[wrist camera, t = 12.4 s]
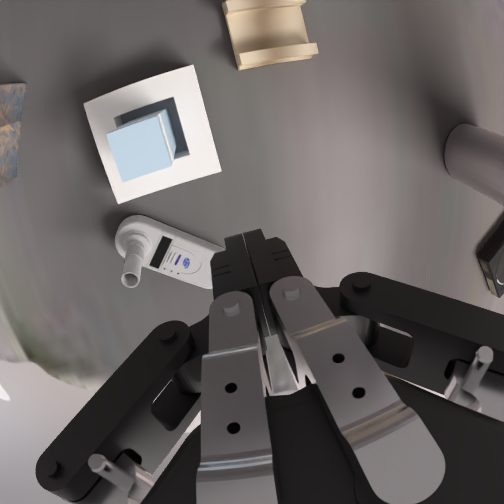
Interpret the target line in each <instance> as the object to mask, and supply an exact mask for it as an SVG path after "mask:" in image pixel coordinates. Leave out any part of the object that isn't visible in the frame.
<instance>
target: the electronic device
mask: <svg viewBox="0 0 504 504" xmlns="http://www.w3.org/2000/svg"><path fill="white" fill-rule="evenodd" d="M115 246H116V249H117V251H118V253H119V254H120V255H121V256H122V257H123V258H125V259H124V268H123V273H122V278H121V281H122V283H123V284H124V285H125V286H126V287H130V288H133V287H136V286H137V285H138V283H139V281H140V273H141V267H142V266H143V267H146V268H149V269H152V270H154V271H157V272H160V273H163V274H165V275H168V276H171V277H174V278H177V279H179V280H182V281H185V282H188V283H191V284H194V285H196V286H199V287H202V288H205V289H213V287H212V276H211V267H210V260H211V259H212V257H213V255H214V253H217V252H221V251H224V250H225V249H224V248H223V247H220V246H218V245H215V244H213V243H210V242H208V241H205V240H203V239H200V238H198V237H195V236H193V235H190V234H188V233H185V232H183V231H181V230H178V229H176V228H173V227H171V226H168V225H166V224H163V223H161V222H158V221H156V220H154V219H151V218H149V217H146V216H142V215H133V216H130V217H128V218H126V219H124V220H123V221H122V223H121V224H120V225H119V228H118V230H117V233H116V236H115Z"/></svg>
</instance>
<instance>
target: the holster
mask: <svg viewBox="0 0 504 504" xmlns="http://www.w3.org/2000/svg"><path fill="white" fill-rule="evenodd" d="M304 3H306V0H228V1H226V2H224V3H222V8H223V11H224V15H225V19H226V23H227V27H228V31H229V35H230V39H231V43H232V47H233V51H234V55H235V59H236V63H237V67H238V70H243V69H248V68H253V67H258V66H264V65H269V64H275V63H282V62H288V61H295V60H303V59H311V58H312V55H313V54H318V48H317V44H316V43H309V41H308V37H307V32H306V28H305V24H304V20H303V16H302V12H301V8H300V6H301V5H302V4H304Z"/></svg>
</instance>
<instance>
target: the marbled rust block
mask: <svg viewBox="0 0 504 504" xmlns="http://www.w3.org/2000/svg"><path fill="white" fill-rule="evenodd" d="M26 84H27V83H5V84H0V187H2V186H3V185H5V184H6V183H7V182H9V181H10V180H12V179H13V178H15V177H16V176H17V156H18V142H19V132H20V123H21V115H22V108H23V101H24V95H25V89H26Z"/></svg>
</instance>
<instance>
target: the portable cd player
mask: <svg viewBox="0 0 504 504" xmlns="http://www.w3.org/2000/svg"><path fill="white" fill-rule="evenodd" d="M477 256H478V259H479V261H480V264H481V266H482V269H483V272H484V274H485V277H486V280H487V283H488V285H489V288H490V291H491V294H493V295H495V296H497V297H499V298H500V297H501V296H502V295H503V294H504V221H503V222H502V224H501V225H500V226H499V228H498V229H497V230H496V232H495V233H494V234H493V235H492V237H491V238H490V239H489V240H488V242H487V243H486V244H485V245H484V247H483V248H482V249H481V250H480V252H479V253H478V254H477Z"/></svg>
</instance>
